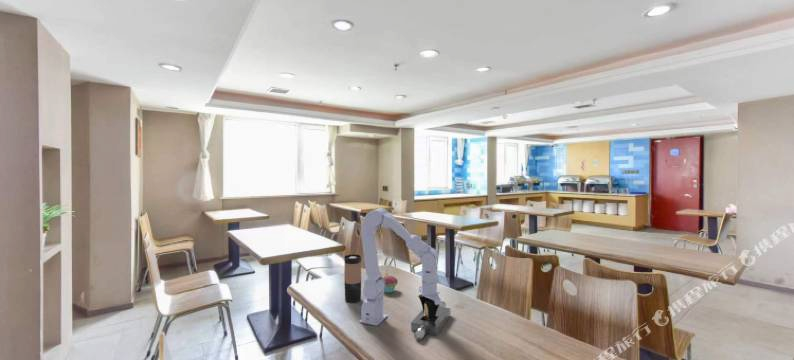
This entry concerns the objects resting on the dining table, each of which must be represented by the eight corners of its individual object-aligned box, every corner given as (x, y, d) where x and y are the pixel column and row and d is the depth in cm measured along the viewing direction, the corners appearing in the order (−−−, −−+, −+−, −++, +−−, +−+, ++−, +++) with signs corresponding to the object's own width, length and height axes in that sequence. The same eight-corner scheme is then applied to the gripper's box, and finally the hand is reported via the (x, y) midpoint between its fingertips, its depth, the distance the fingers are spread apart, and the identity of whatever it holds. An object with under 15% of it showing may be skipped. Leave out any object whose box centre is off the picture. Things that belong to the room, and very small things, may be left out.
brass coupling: (432, 324, 126) (432, 306, 125) (422, 322, 127) (422, 304, 127) (436, 320, 129) (436, 302, 129) (426, 318, 131) (426, 300, 131)
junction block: (431, 343, 115) (431, 335, 115) (404, 337, 119) (404, 329, 119) (454, 310, 143) (454, 303, 142) (431, 306, 147) (431, 299, 147)
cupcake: (390, 295, 159) (390, 270, 159) (376, 291, 164) (376, 267, 164) (401, 290, 166) (400, 266, 166) (387, 286, 171) (387, 263, 171)
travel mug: (362, 296, 157) (362, 254, 156) (359, 303, 150) (359, 258, 149) (346, 296, 158) (346, 254, 157) (342, 302, 150) (342, 258, 150)
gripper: (448, 285, 122) (447, 322, 123) (430, 274, 136) (430, 307, 136) (430, 288, 120) (430, 325, 120) (414, 276, 133) (414, 310, 134)
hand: (429, 316), depth 128 cm, fingers closed on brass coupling, 4 cm apart
